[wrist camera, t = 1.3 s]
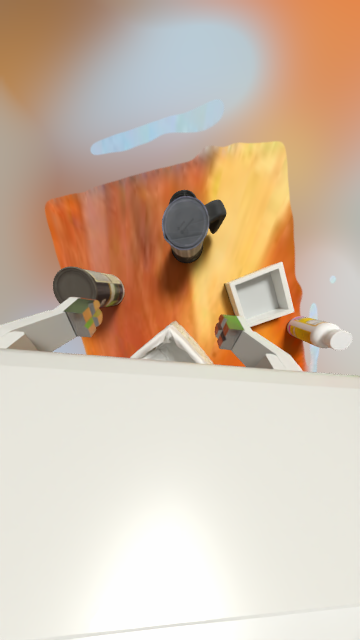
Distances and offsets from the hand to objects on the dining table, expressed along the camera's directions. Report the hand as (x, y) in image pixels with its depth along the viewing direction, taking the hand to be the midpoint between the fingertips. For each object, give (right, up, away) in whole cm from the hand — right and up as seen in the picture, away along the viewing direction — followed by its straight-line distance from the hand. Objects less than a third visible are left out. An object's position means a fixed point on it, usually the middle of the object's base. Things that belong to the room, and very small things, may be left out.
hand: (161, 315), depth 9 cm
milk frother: (+3, +25, +30) cm, 40 cm away
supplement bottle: (+39, -2, +34) cm, 51 cm away
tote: (+24, +7, +33) cm, 41 cm away
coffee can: (-22, +10, +35) cm, 43 cm away
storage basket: (+2, -12, +39) cm, 41 cm away
